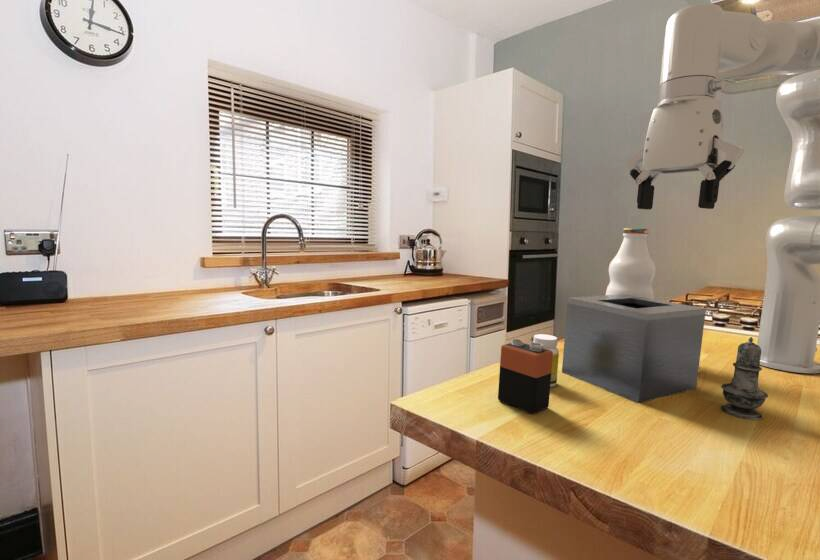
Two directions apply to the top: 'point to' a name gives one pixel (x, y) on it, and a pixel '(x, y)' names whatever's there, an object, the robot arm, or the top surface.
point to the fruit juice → (632, 266)
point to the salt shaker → (745, 384)
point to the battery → (525, 375)
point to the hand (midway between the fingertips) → (673, 208)
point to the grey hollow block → (633, 345)
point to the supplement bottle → (551, 344)
